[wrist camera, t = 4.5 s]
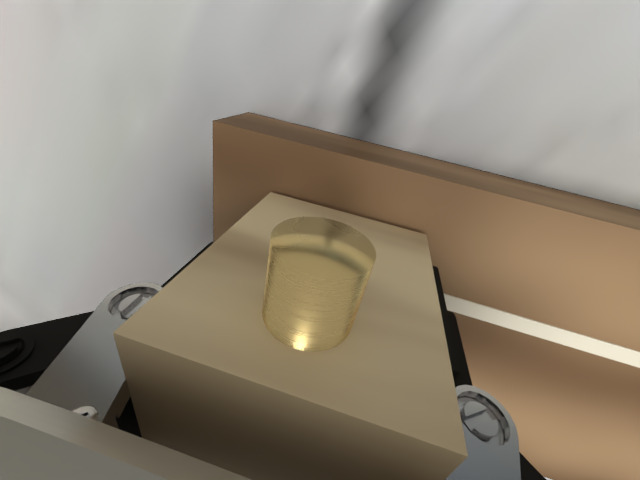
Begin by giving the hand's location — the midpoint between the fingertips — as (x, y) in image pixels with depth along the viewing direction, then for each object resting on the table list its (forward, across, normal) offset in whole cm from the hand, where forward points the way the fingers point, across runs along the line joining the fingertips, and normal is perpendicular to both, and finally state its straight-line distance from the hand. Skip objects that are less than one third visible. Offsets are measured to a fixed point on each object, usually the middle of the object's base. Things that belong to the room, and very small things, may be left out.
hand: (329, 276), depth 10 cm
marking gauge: (0, 0, 0) cm, 0 cm away
